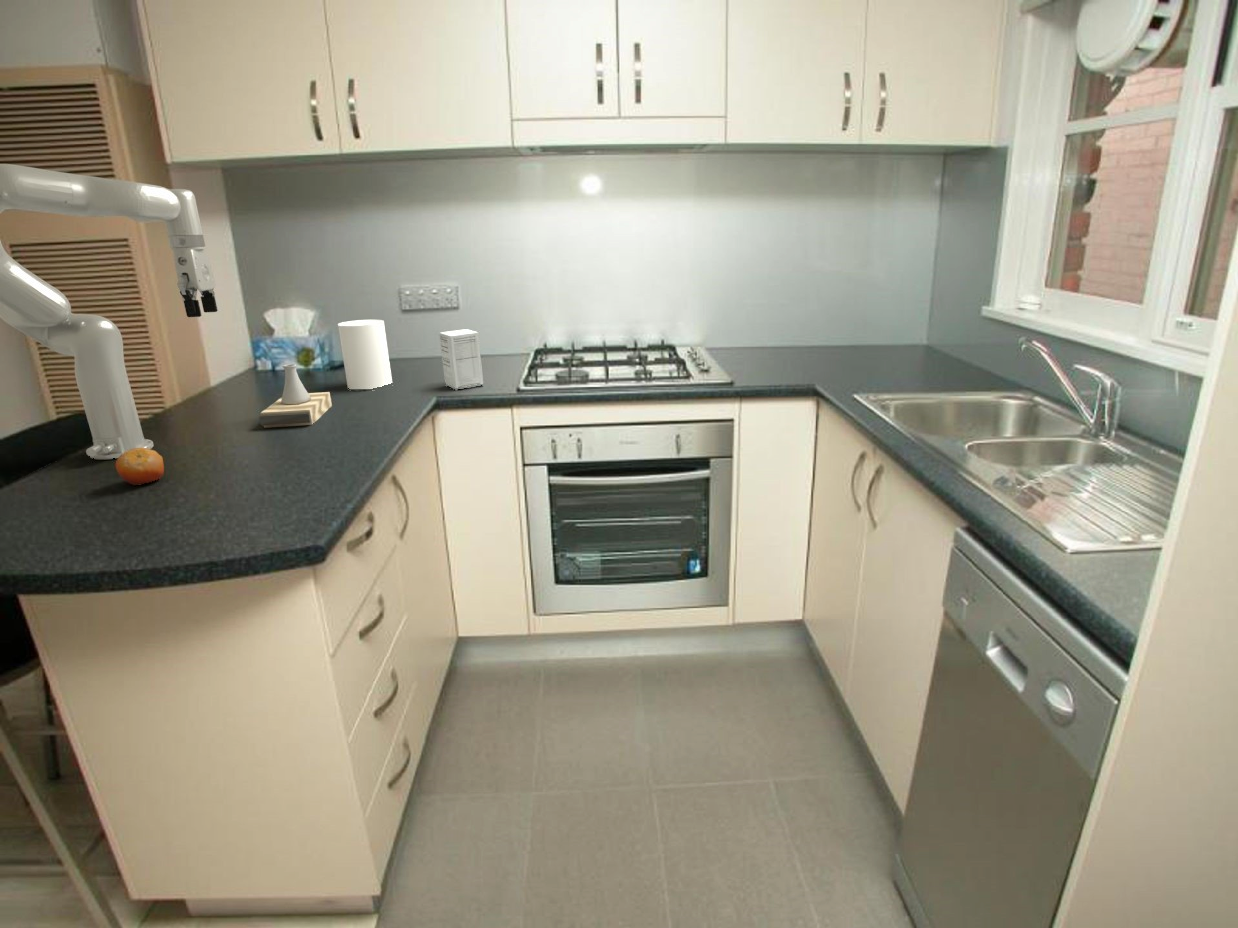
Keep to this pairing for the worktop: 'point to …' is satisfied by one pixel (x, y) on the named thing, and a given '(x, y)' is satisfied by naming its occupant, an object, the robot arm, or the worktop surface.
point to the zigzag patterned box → (296, 411)
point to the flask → (293, 387)
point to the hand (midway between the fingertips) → (202, 314)
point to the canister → (365, 354)
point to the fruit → (140, 466)
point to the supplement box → (461, 358)
